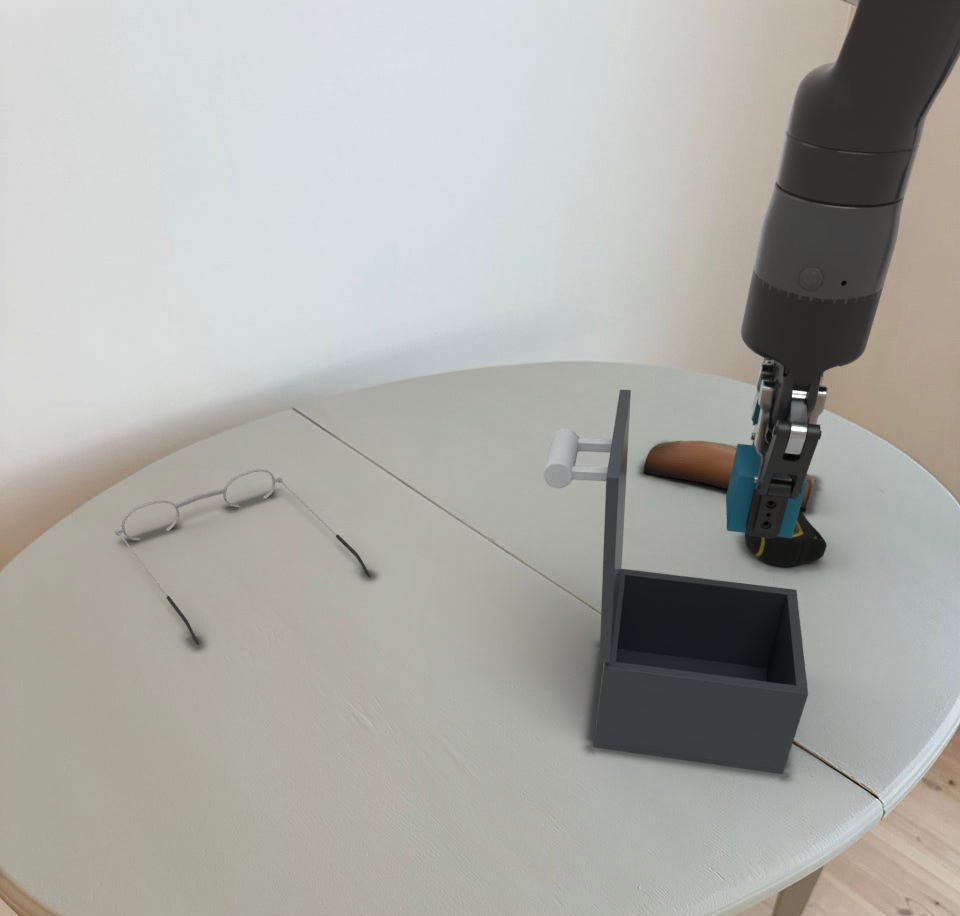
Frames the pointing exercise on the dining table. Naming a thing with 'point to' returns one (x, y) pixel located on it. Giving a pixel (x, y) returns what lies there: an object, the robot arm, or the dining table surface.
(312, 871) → the dining table surface
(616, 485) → the lid
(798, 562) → the tape measure
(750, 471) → the blue block
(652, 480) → the dining table surface
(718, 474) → the sunglasses case
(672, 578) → the open box
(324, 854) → the dining table surface
